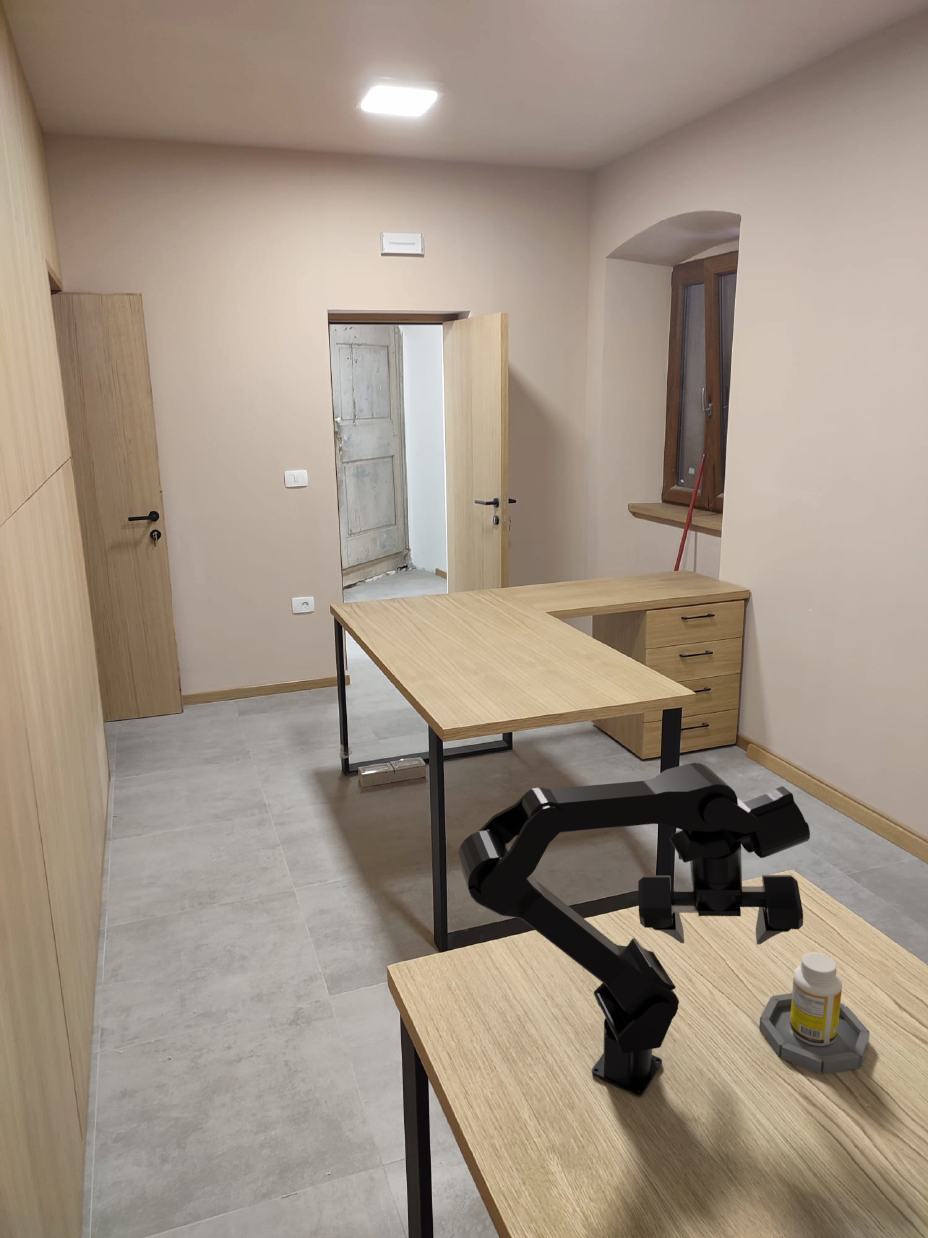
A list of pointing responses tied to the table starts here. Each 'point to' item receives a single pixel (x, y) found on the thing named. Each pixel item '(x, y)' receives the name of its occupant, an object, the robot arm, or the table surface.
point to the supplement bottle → (816, 1000)
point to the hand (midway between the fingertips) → (719, 940)
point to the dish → (823, 1059)
